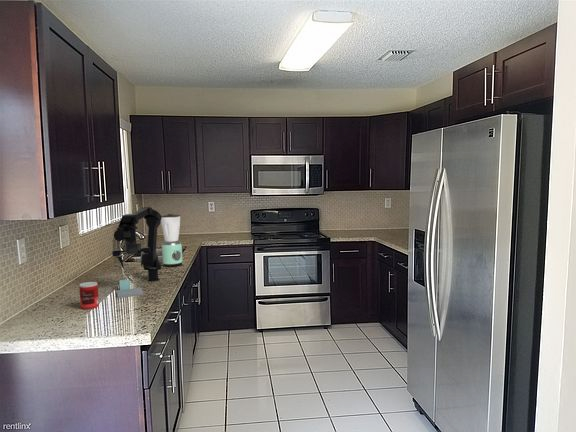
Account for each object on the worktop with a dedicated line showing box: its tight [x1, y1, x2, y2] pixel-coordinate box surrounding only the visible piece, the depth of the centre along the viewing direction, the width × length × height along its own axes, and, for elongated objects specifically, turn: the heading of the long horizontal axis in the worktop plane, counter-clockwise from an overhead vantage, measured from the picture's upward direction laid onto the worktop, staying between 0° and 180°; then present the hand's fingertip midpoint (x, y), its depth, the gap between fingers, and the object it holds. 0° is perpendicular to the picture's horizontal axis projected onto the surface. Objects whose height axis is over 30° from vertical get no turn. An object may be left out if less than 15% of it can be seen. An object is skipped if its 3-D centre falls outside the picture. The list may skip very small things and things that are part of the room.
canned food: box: [78, 281, 100, 310], centre depth 188 cm, size 8×8×11 cm
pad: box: [116, 287, 144, 299], centre depth 210 cm, size 12×12×1 cm
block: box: [118, 278, 131, 290], centre depth 218 cm, size 5×5×5 cm
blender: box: [160, 213, 184, 268], centre depth 277 cm, size 19×13×35 cm
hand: (132, 267), depth 217 cm, fingers open, 9 cm apart
